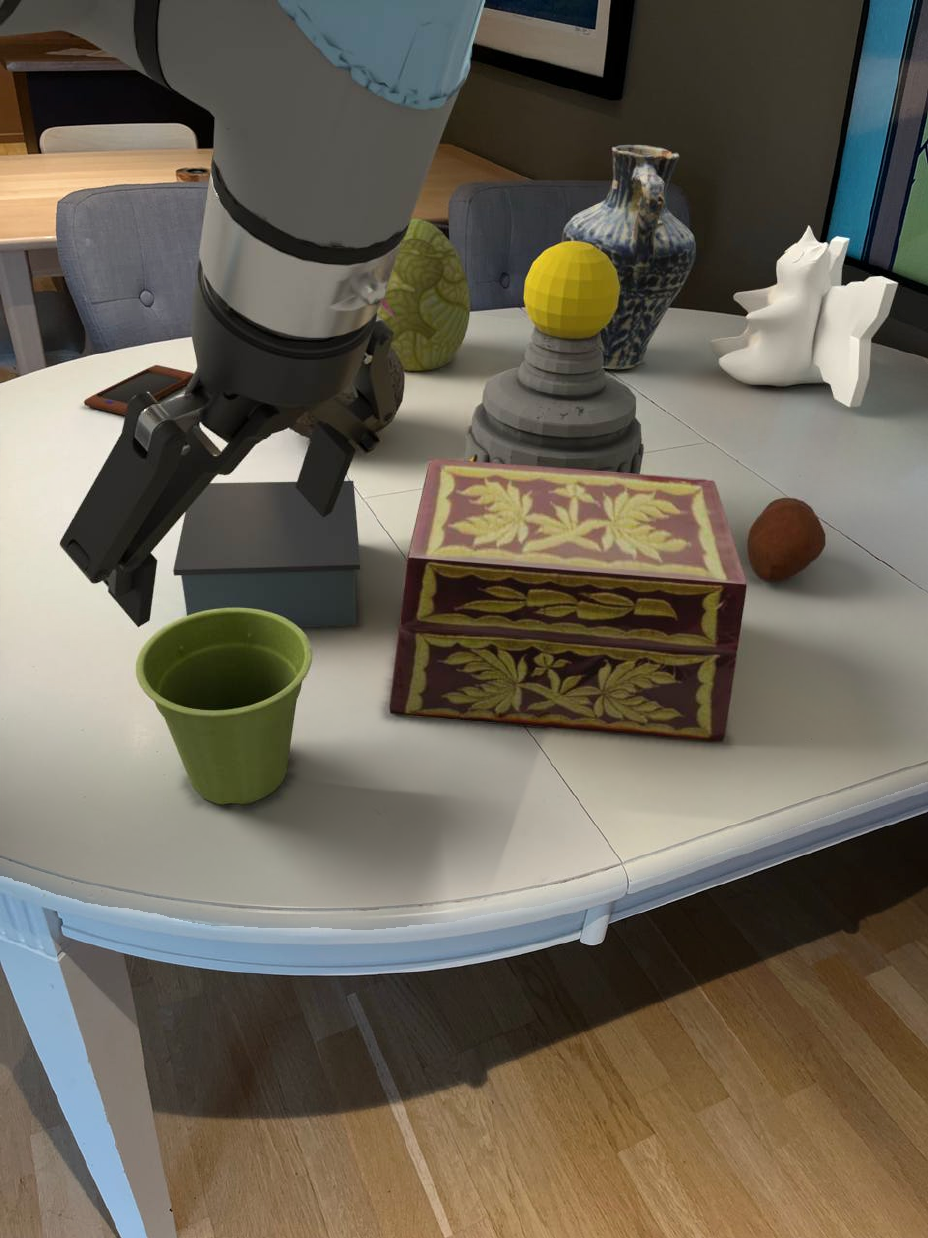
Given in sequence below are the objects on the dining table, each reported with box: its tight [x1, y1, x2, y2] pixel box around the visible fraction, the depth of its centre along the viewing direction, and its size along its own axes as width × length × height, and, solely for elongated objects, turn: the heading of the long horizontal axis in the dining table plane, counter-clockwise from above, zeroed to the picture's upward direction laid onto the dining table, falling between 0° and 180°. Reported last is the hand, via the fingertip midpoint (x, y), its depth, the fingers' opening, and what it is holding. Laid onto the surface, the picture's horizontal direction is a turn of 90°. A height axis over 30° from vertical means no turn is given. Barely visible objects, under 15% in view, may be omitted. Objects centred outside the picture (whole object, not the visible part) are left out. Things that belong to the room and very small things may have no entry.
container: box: [172, 480, 362, 629], centre depth 91 cm, size 16×16×7 cm
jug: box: [561, 144, 697, 370], centre depth 140 cm, size 21×19×30 cm
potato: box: [746, 497, 827, 583], centre depth 98 cm, size 8×12×8 cm, turn 165°
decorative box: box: [388, 458, 748, 742], centre depth 81 cm, size 28×19×15 cm
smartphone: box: [83, 364, 195, 416], centre depth 129 cm, size 7×1×15 cm
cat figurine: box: [709, 225, 899, 408], centre depth 139 cm, size 25×21×21 cm
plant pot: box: [135, 608, 313, 805], centre depth 69 cm, size 12×12×11 cm
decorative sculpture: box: [377, 218, 471, 372], centre depth 139 cm, size 16×16×20 cm
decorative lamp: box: [464, 241, 645, 474], centre depth 97 cm, size 19×19×30 cm
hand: (227, 549), depth 57 cm, fingers open, 13 cm apart
